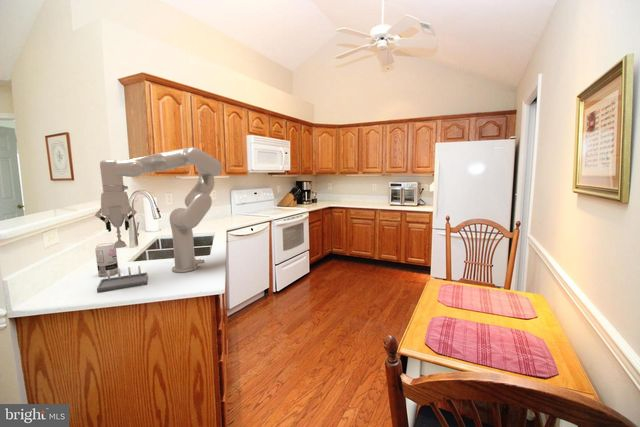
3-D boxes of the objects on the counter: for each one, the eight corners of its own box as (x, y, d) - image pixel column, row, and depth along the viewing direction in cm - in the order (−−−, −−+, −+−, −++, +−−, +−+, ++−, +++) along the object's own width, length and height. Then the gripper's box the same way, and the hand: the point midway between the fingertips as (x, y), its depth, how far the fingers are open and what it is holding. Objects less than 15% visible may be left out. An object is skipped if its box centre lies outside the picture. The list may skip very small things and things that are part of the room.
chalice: (116, 244, 135) (112, 205, 132) (132, 244, 135) (128, 205, 133) (106, 249, 127) (101, 207, 125) (123, 248, 128) (118, 207, 125)
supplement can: (101, 272, 149) (97, 243, 147) (120, 270, 153) (117, 241, 151) (96, 277, 142) (92, 247, 140) (116, 275, 145) (113, 245, 143)
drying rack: (147, 276, 143) (146, 264, 142) (146, 284, 133) (145, 271, 132) (101, 283, 135) (100, 270, 134) (97, 292, 124) (95, 279, 123)
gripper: (137, 187, 135) (141, 227, 138) (90, 189, 127) (95, 231, 129) (136, 188, 128) (140, 229, 131) (86, 190, 120) (92, 234, 123)
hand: (118, 230), depth 130 cm, fingers closed on chalice, 5 cm apart
